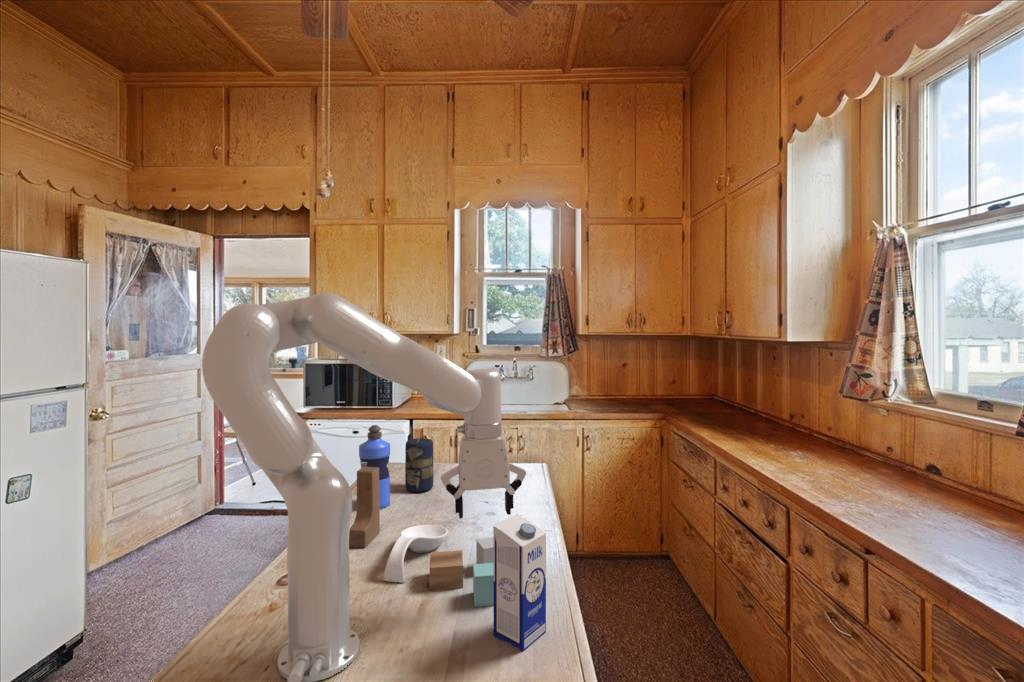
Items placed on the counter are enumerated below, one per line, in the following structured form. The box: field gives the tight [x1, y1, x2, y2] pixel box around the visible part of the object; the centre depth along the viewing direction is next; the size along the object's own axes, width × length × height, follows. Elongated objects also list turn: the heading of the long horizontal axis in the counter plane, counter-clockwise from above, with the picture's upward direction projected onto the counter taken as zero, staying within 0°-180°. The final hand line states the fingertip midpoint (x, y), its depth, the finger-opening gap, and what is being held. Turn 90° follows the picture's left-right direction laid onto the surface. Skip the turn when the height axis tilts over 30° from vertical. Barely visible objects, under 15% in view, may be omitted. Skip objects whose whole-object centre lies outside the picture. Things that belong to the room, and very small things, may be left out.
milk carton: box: [492, 513, 547, 652], centre depth 84 cm, size 7×7×20 cm
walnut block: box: [429, 549, 464, 592], centre depth 102 cm, size 7×7×5 cm
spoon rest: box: [383, 524, 449, 584], centre depth 112 cm, size 24×12×7 cm, turn 170°
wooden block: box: [349, 467, 381, 549], centre depth 121 cm, size 9×4×18 cm, turn 172°
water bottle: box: [358, 424, 391, 510], centre depth 146 cm, size 9×9×25 cm
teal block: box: [472, 563, 494, 607], centre depth 95 cm, size 5×5×6 cm
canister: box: [404, 436, 434, 493], centre depth 161 cm, size 10×10×18 cm
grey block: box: [475, 536, 493, 564], centre depth 107 cm, size 5×5×6 cm
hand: (484, 514), depth 95 cm, fingers open, 9 cm apart
